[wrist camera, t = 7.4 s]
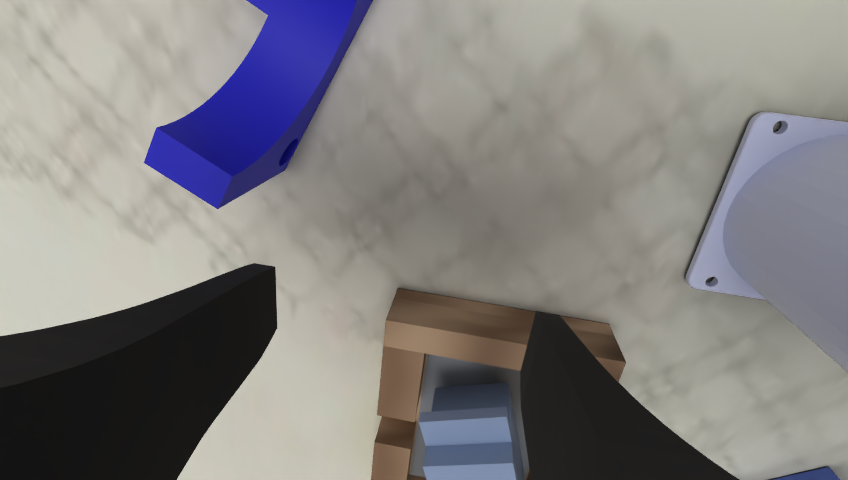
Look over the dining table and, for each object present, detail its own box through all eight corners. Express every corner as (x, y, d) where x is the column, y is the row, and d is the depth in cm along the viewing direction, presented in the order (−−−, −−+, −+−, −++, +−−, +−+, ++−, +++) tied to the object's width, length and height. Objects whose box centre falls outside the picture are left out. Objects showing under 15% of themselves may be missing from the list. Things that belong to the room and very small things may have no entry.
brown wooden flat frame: (609, 324, 22) (626, 362, 19) (546, 504, 28) (552, 553, 25) (398, 288, 23) (385, 319, 20) (379, 470, 29) (368, 513, 26)
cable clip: (316, -159, 16) (228, -268, 11) (416, -82, 17) (382, -148, 11) (205, 116, 21) (105, 138, 15) (286, 169, 21) (217, 209, 16)
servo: (503, 359, 23) (508, 453, 17) (526, 481, 26) (536, 591, 21) (429, 366, 23) (412, 457, 18) (460, 483, 27) (453, 590, 21)
